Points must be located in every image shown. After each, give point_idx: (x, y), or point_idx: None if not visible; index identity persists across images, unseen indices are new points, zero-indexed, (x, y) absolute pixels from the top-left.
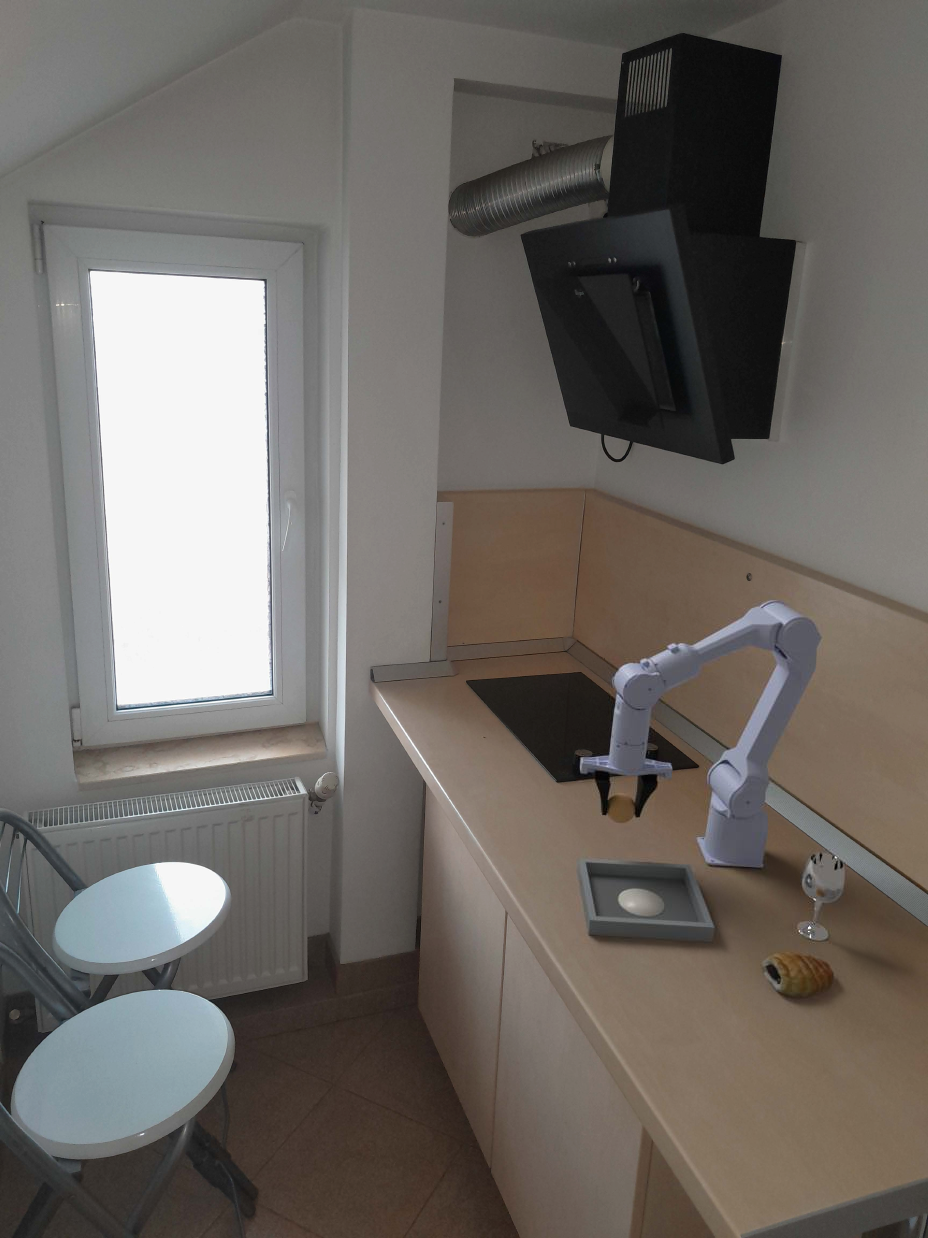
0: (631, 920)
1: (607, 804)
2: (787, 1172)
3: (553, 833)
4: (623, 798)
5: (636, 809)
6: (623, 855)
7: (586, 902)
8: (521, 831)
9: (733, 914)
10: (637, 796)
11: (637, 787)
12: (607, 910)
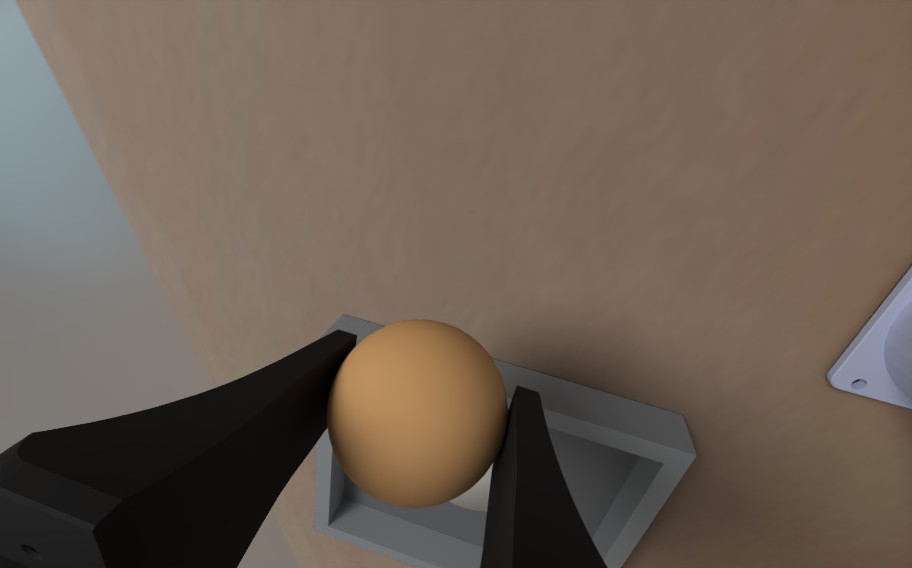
0: (399, 558)
1: (307, 453)
2: None
3: (291, 70)
4: (386, 502)
5: (495, 467)
6: (520, 259)
7: (315, 487)
8: (176, 44)
9: (704, 551)
10: (502, 499)
11: (509, 520)
12: None
